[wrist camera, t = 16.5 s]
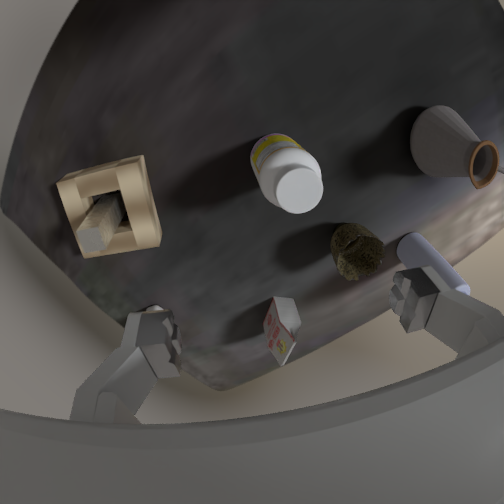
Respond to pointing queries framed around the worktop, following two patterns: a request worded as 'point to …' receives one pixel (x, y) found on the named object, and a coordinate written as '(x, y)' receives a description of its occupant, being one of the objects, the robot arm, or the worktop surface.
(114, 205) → the metal peg
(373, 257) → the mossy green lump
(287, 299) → the white and red box
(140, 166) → the tan square ring
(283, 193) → the supplement bottle
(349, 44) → the worktop surface
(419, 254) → the spray bottle
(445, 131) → the coffee pot
